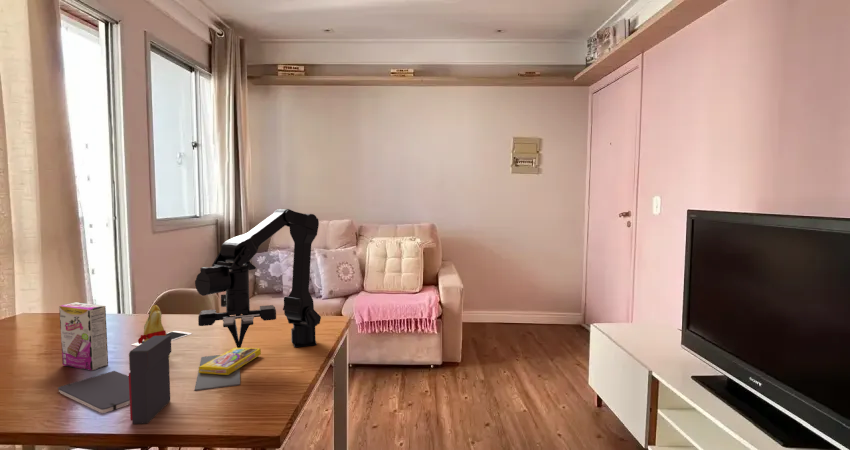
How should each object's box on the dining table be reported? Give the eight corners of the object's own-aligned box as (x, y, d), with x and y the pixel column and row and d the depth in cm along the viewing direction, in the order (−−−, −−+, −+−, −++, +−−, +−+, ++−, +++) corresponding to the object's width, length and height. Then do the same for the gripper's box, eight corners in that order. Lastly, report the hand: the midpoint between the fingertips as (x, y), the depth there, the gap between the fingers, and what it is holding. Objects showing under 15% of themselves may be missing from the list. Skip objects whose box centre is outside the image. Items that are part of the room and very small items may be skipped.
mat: (239, 353, 142) (239, 352, 142) (240, 384, 119) (240, 383, 119) (201, 357, 138) (201, 356, 138) (194, 390, 116) (194, 389, 116)
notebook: (162, 395, 115) (114, 376, 126) (161, 388, 114) (114, 370, 126) (102, 416, 104) (56, 394, 115) (102, 409, 104) (56, 387, 115)
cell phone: (130, 346, 149) (130, 344, 149) (175, 332, 164) (175, 330, 164) (149, 349, 146) (149, 347, 146) (192, 335, 161) (192, 333, 161)
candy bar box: (60, 366, 131) (57, 305, 130) (79, 360, 136) (76, 301, 135) (91, 371, 128) (88, 309, 126) (109, 365, 132) (106, 304, 131)
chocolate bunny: (159, 351, 144) (158, 300, 143) (173, 360, 136) (171, 306, 135) (133, 356, 139) (131, 304, 138) (145, 366, 131) (143, 311, 130)
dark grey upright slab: (153, 401, 110) (150, 335, 109) (173, 400, 110) (171, 334, 109) (128, 424, 99) (124, 351, 98) (150, 424, 99) (147, 351, 98)
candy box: (227, 367, 124) (197, 366, 125) (228, 375, 124) (198, 375, 125) (260, 347, 139) (234, 346, 141) (261, 354, 140) (234, 354, 141)
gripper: (272, 281, 140) (273, 335, 141) (200, 285, 133) (202, 342, 134) (275, 288, 129) (276, 347, 130) (197, 293, 123) (199, 355, 124)
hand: (239, 347), depth 130 cm, fingers closed
